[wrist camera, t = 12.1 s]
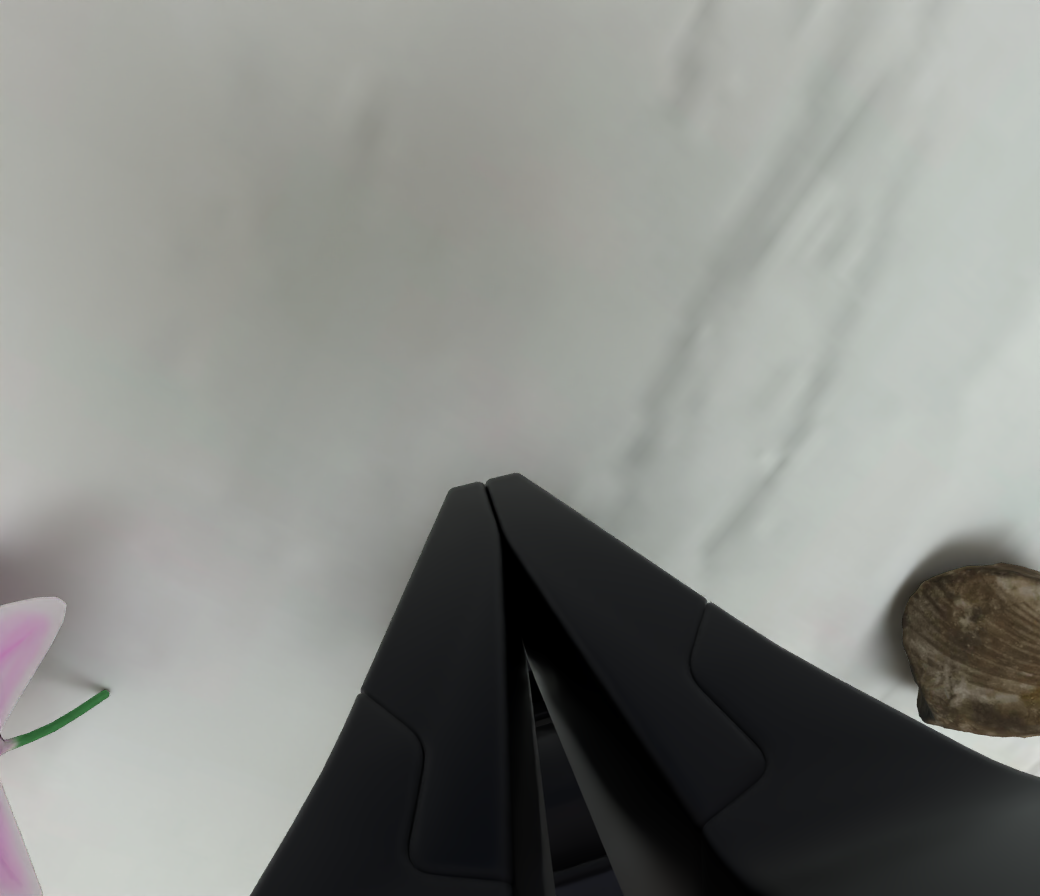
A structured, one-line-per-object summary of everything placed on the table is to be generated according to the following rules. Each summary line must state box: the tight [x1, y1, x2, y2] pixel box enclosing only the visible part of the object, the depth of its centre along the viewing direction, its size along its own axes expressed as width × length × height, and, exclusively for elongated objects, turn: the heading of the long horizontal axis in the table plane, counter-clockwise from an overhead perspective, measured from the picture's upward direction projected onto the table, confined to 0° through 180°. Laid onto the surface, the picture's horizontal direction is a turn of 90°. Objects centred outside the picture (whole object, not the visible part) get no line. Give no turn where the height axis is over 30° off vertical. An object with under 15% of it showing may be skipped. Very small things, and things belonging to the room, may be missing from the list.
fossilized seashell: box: [902, 563, 1040, 738], centre depth 31 cm, size 8×7×10 cm
